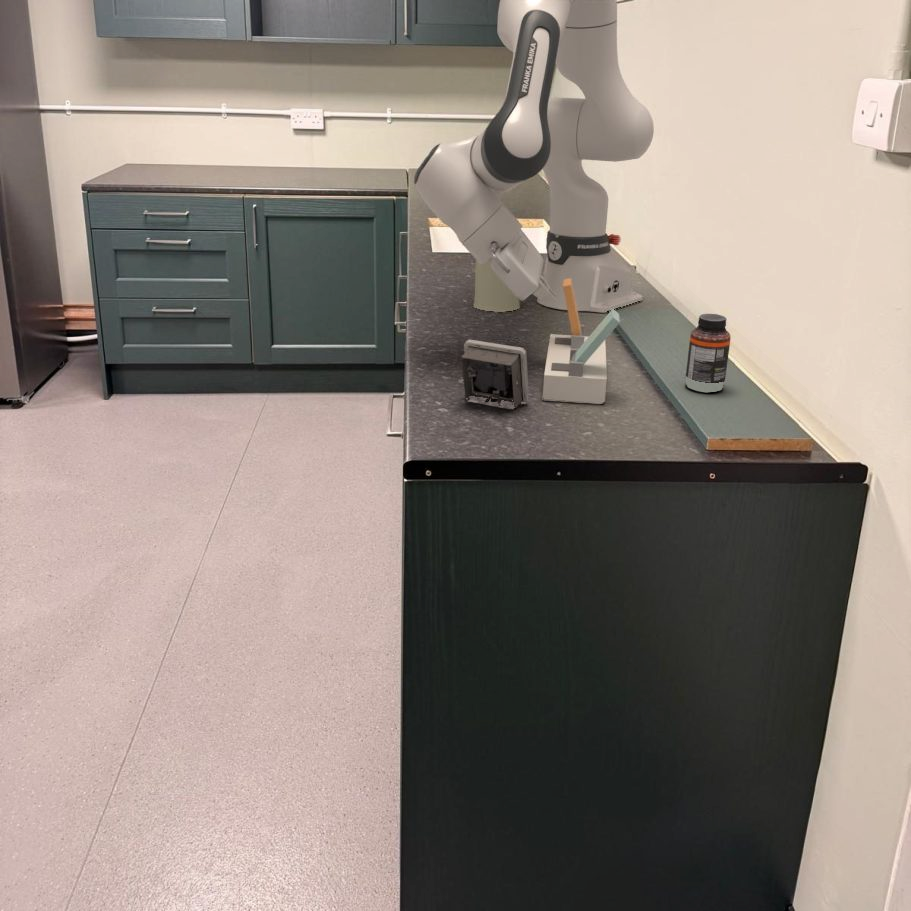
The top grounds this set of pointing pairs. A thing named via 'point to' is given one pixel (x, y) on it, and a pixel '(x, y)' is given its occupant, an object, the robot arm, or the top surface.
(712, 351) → the supplement bottle
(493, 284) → the can
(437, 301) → the top surface
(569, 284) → the rocker orange
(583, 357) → the rocker teal
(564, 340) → the white switch base
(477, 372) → the electrical switch
